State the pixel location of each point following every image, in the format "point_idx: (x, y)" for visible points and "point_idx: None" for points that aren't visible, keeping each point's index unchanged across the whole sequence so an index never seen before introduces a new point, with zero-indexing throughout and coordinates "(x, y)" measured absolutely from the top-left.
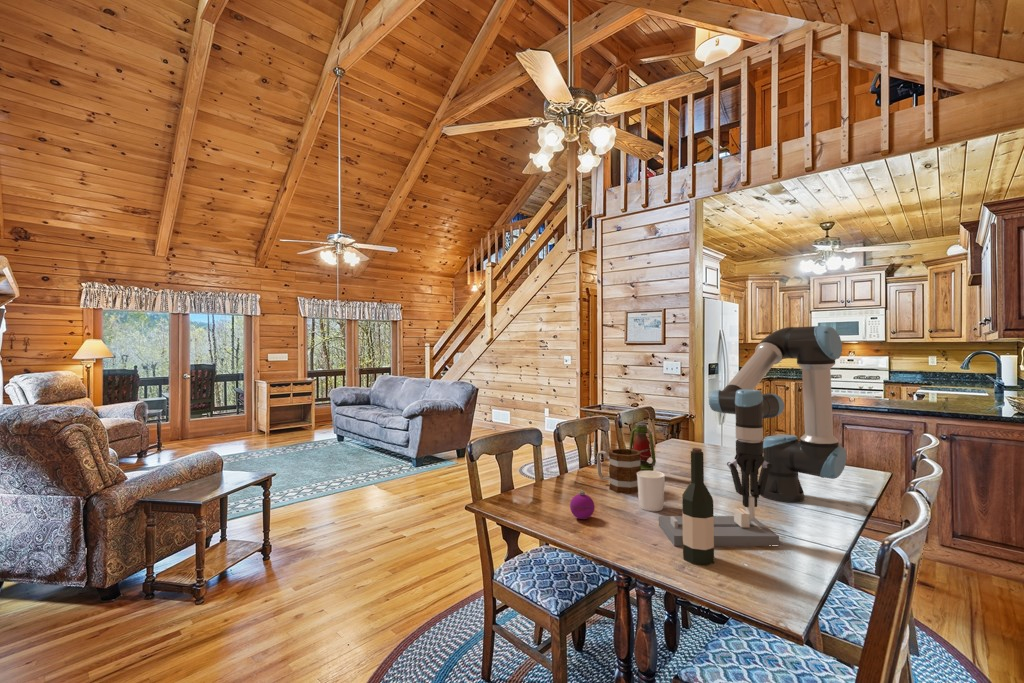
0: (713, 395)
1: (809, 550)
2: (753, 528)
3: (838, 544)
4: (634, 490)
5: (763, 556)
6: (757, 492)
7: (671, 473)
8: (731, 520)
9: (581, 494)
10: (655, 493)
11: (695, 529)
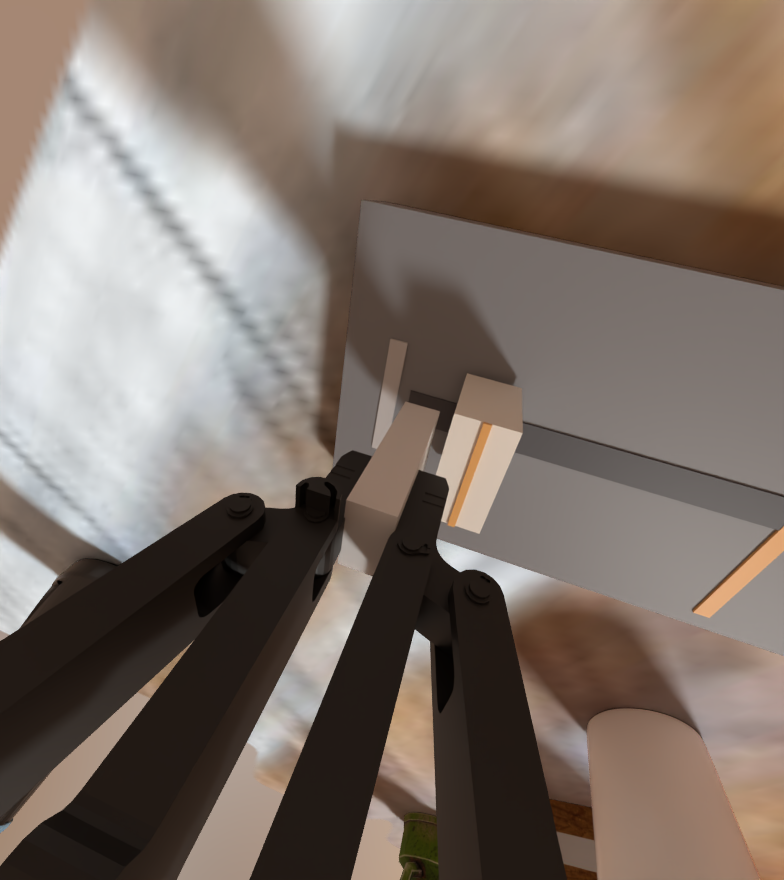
0: None
1: (240, 104)
2: (440, 366)
3: (68, 170)
4: (582, 819)
5: (629, 24)
6: (284, 529)
7: None
8: None
9: None
10: (701, 822)
11: None
